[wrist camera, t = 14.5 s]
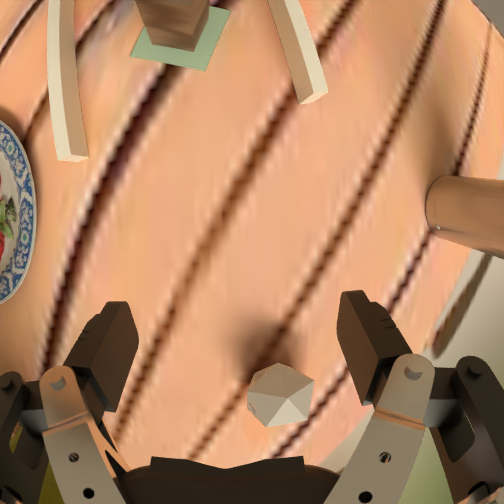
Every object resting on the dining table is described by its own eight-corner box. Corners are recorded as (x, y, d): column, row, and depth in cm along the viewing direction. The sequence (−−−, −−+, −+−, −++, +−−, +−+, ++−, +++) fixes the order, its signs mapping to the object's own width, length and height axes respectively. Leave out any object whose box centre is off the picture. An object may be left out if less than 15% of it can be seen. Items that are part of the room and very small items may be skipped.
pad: (230, 12, 26) (230, 10, 26) (205, 71, 28) (205, 70, 28) (160, -1, 25) (160, -3, 24) (130, 57, 26) (130, 56, 26)
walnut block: (209, 17, 26) (212, -33, 16) (193, 52, 27) (190, 6, 17) (169, 10, 25) (160, -39, 15) (152, 44, 26) (135, -1, 16)
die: (263, 339, 37) (230, 400, 30) (328, 358, 34) (305, 425, 27) (261, 373, 42) (233, 426, 34) (317, 390, 39) (295, 447, 32)
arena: (262, -43, 24) (269, -64, 19) (311, 102, 30) (328, 91, 26) (63, 4, 22) (50, -12, 17) (77, 162, 28) (57, 160, 23)
